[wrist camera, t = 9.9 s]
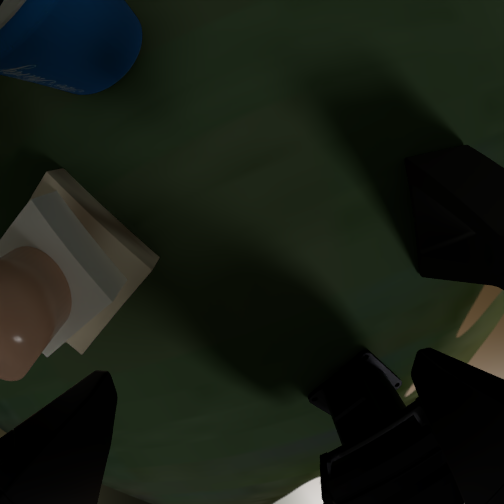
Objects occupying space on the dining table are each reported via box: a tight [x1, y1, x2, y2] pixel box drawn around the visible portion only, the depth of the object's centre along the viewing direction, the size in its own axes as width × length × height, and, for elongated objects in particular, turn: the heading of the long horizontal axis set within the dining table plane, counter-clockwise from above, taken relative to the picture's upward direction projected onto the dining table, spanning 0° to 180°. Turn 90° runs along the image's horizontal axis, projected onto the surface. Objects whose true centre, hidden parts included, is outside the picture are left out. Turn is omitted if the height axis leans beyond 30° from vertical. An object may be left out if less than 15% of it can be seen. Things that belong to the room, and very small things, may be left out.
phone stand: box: [405, 145, 504, 290], centre depth 15 cm, size 9×6×12 cm, turn 16°
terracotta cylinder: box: [0, 246, 72, 381], centre depth 13 cm, size 5×5×5 cm
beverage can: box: [0, 0, 142, 95], centre depth 10 cm, size 6×6×12 cm
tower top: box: [0, 191, 127, 357], centre depth 16 cm, size 7×7×3 cm
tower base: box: [29, 168, 160, 354], centre depth 19 cm, size 9×9×3 cm
